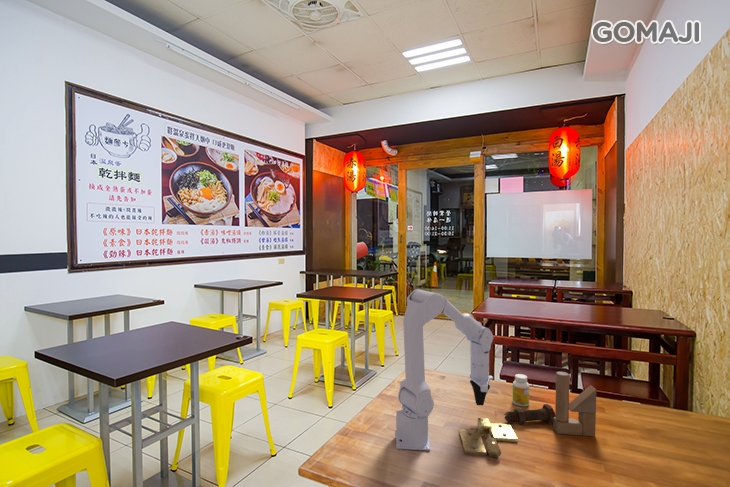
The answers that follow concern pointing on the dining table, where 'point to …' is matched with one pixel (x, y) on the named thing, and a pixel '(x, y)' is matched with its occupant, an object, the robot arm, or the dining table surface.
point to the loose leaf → (496, 430)
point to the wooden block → (574, 409)
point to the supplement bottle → (521, 390)
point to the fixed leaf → (478, 444)
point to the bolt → (530, 415)
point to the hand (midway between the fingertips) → (479, 404)
